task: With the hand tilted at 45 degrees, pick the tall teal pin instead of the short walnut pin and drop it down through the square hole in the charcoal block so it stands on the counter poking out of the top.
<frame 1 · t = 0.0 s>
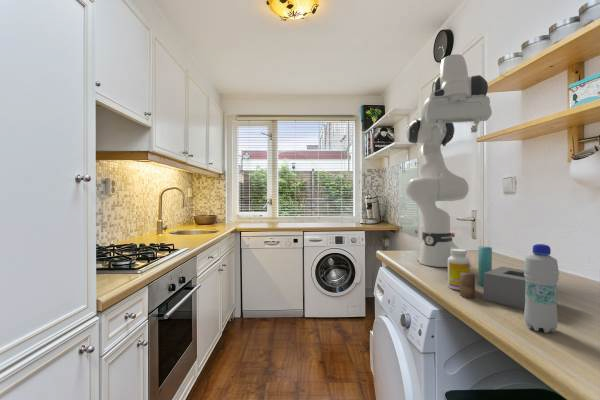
hand: (458, 132, 108), 52 cm above the countertop, tool tilted 20°, fingers open, 8 cm apart
short pin: (467, 296, 100), on the countertop
long pin: (484, 284, 112), on the countertop
bottle: (540, 329, 76), on the countertop
supplement bottle: (458, 288, 109), on the countertop
hole block: (516, 300, 96), on the countertop
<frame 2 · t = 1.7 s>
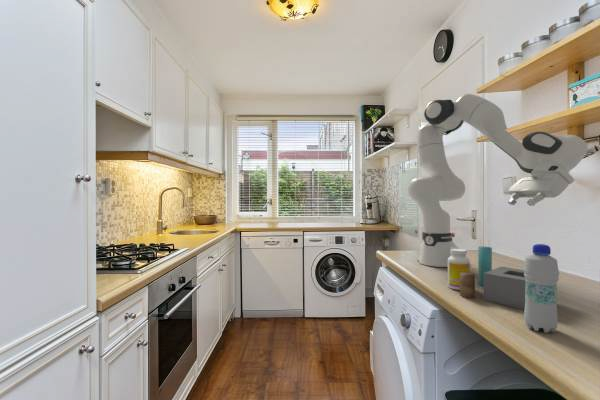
hand: (519, 204, 112), 28 cm above the countertop, tool tilted 45°, fingers open, 8 cm apart
nothing on the countertop moved.
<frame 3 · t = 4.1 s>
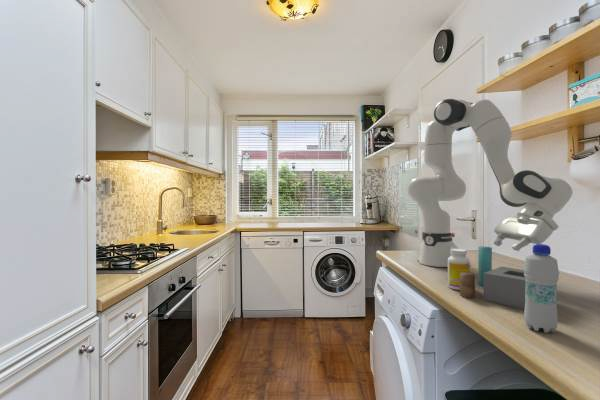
hand: (504, 246, 112), 13 cm above the countertop, tool tilted 45°, fingers open, 8 cm apart
nothing on the countertop moved.
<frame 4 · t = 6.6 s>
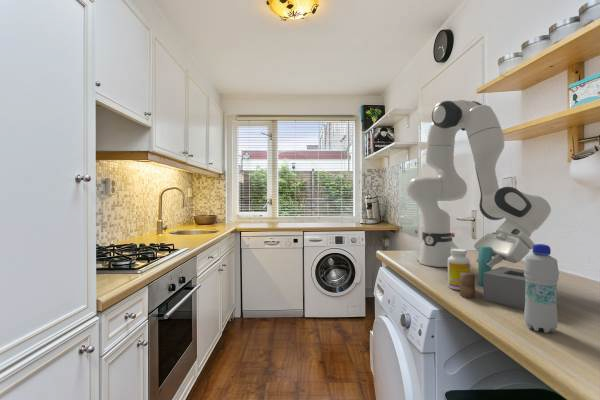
hand: (483, 264, 112), 7 cm above the countertop, tool tilted 45°, fingers closed on long pin, 4 cm apart
long pin: (484, 284, 112), on the countertop, touching gripper
everything else where it was.
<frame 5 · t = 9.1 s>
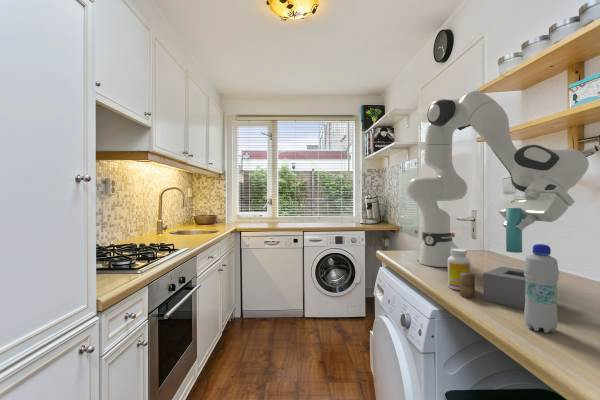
hand: (511, 227, 97), 21 cm above the countertop, tool tilted 45°, fingers closed on long pin, 4 cm apart
long pin: (514, 251, 97), point 14 cm above the countertop, touching gripper
everything else where it was.
when the fingers open (12 cm above the countertop, at t = 11.6 s): long pin drops 5 cm, resting in hole block.
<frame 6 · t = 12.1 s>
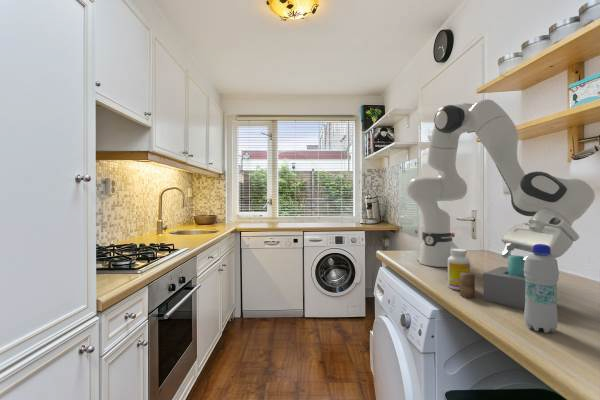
hand: (514, 259, 96), 12 cm above the countertop, tool tilted 45°, fingers open, 8 cm apart
long pin: (516, 300, 96), resting in hole block
everything else where it was.
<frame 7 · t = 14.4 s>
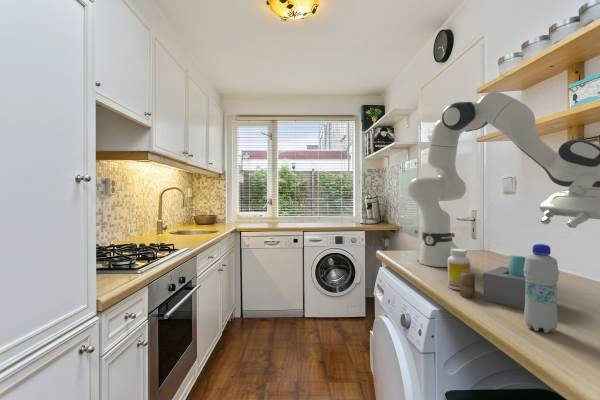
hand: (556, 224, 96), 22 cm above the countertop, tool tilted 45°, fingers open, 8 cm apart
nothing on the countertop moved.
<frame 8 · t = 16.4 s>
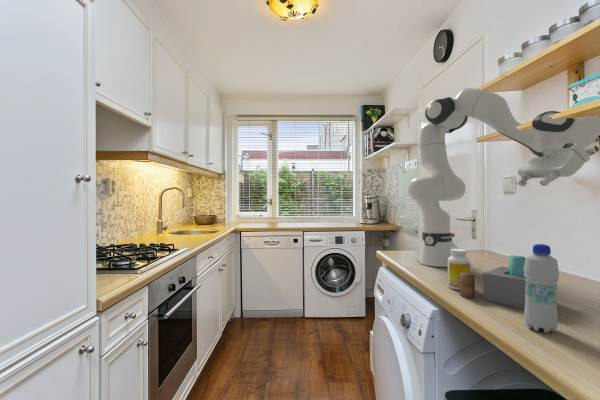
hand: (531, 184, 106), 34 cm above the countertop, tool tilted 45°, fingers open, 8 cm apart
nothing on the countertop moved.
at the end: long pin 0.1 cm off-centre on the hole block, point 0.0 cm above the hole block's base; long pin tilted 0°; short pin moved 0.0 cm from its start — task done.
